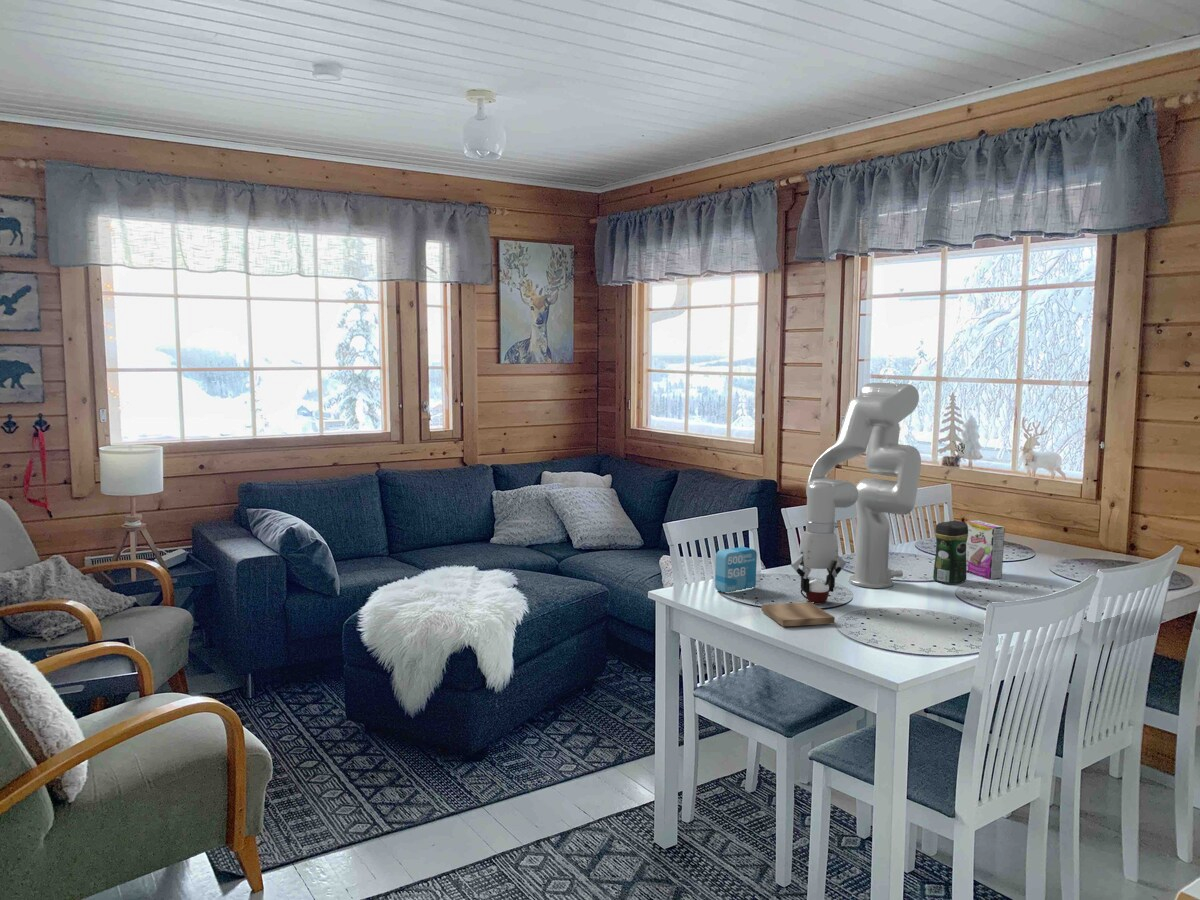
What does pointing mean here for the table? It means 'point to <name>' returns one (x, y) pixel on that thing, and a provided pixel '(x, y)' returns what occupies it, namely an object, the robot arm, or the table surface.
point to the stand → (797, 614)
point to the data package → (735, 569)
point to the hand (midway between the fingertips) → (817, 590)
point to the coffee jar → (950, 552)
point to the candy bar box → (985, 549)
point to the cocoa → (819, 589)
